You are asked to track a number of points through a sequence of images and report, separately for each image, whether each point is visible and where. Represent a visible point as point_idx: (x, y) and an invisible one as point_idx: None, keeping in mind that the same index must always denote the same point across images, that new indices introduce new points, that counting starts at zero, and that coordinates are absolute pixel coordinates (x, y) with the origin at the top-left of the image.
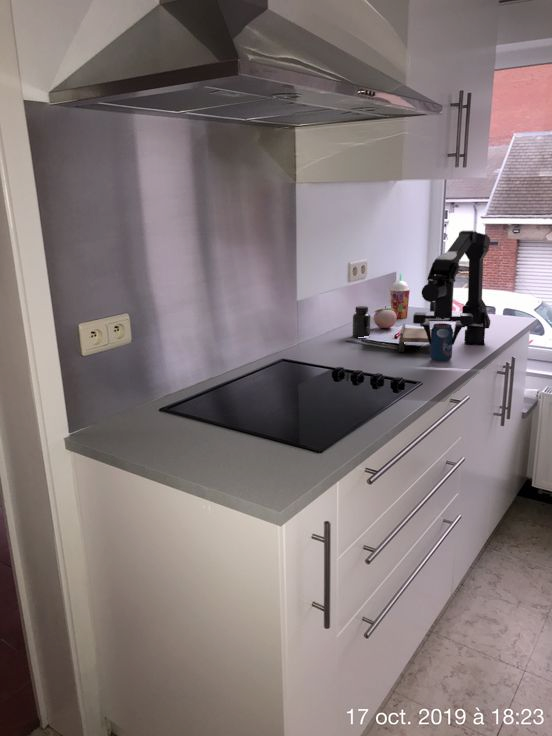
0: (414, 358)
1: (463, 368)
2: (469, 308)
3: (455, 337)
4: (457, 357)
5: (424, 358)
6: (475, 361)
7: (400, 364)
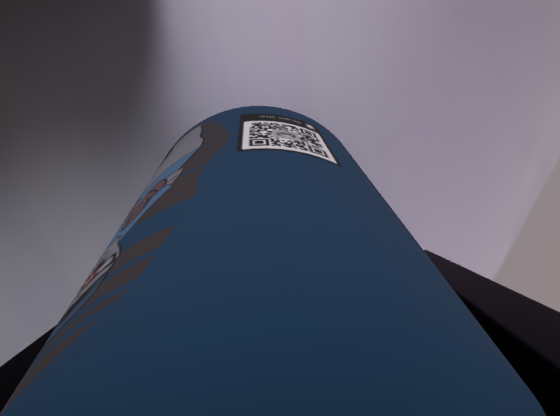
0: (13, 197)
1: None
2: None
3: None
4: (407, 31)
5: (100, 170)
6: (555, 139)
7: None
